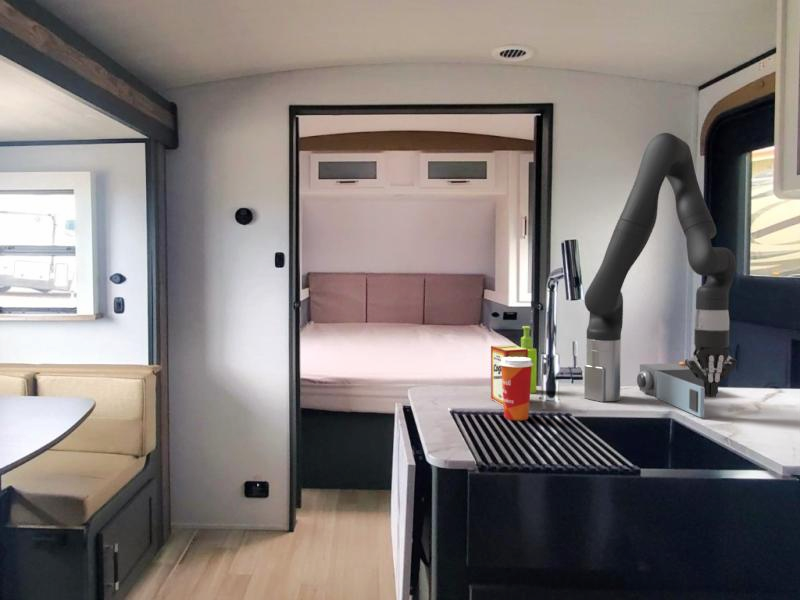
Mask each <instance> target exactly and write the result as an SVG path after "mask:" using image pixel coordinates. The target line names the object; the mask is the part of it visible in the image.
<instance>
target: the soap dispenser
mask: <svg viewBox="0 0 800 600" xmlns="http://www.w3.org/2000/svg"><path fill="white" fill-rule="evenodd" d="M521 328H522V329H523V336H522V337H520V347H521V348H525V349H528V358H530V359H531V362H532V363H533V366H532V369H531V386H530V394H535V393H537V356H538V355H537V350H538V349H537V348H535V347H533V337H531V336H530V330H531V327H530V325H523V326H521Z"/></svg>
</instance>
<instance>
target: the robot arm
mask: <svg viewBox="0 0 800 600" xmlns="http://www.w3.org/2000/svg"><path fill="white" fill-rule="evenodd" d="M665 178H666V179H667V181H668V182H669V183H670V186H671V188H672V190H673V194H674V199H675V210H676V214H677V219H678V221H679V224H680V226H681V227H680V228H681V229H682V231H683V234H684V237H685V238H686V239H685V240H686V253H687V261H688V263H689V266H690V267H691V269H692V270H693V272H694V273H696V274H697V275H698V276H704V277H706V280H705V284H703V285H701V286H699V287H698V288H697V289H696V292H695V314H694V331H693V332H694V338H693V341H694V343H693V345H694V346H695V348H694V351H693V353H692V354H693V355H692V356H691V357H690V358H689V359H685V360H684V362H685V363H686V365H687V366H688V367H689V369H690V370H691V371H692V373H693V374H694V375H695V377H696V378H698V379H701V380H703V381H704V388H705V395H706V396H705V397H708V398H716V397H717V395H718V394H719V383H720V381H723V380H726V379H727V378H728V377H729V376H730V374H731V372H732V371H733V370H734V368H735V367H736V366H737V364H738V362H739V361H738V359H735V358H733V357H732V356H730V351H729V350H728V348H729V347H730V315H729V313H730V312H729V293H730V289H731V286H732V283H733V279H734V276H735V272H736V264H737V261H736V257H735V255H734V253H733V252H732V250H731V249H729V248H727V247H720V246H717V247H716V246H713V244H712V240H711V239H713V238H714V237H715V236H716V235H717V227H716V223H715V222H714V220H713V217H712V215H711V213H710V210H709V208H708V206H707V203H706V201H705V199H704V196H703V194H702V190H701V188H700V184H699V182H698V178H697V175H696V170H695V163H694V160H693V155H692V151H691V148H690V146H689V145H688V143H687V142H686V141H684V139H681V138H680V137H678V136H676V135H675V134H673V133H670V132H662V133H658V134H657V135H655V136H654V137H653V138H652V139H651V140H650V141H649V142H648V143H647V146H646V147H645V150H644V152H643V155H642V158H641V162H640V165H639V168H638V171H637V174H636V178H635V180H634V183H633V186H632V188H631V190H630V193H629V196H628V197H627V199H626V202H625V205H624V207H623V209H622V212H621V214H620V216H619V218H618V220H617V223H616V225H615V227H614V230H613V233H612V234H611V237H610V239H609V242H608V245H607V247H606V250H605V253H604V256H603V260H602V261H601V264H600V266H599V269H598V270H597V272H596V274H595V276H594V278H593V280H592V281H591V283H590V285H589V286H588V288H587V290H586V292H585V294H584V305H585V308H586V310H587V311H588V313H589V317H588V318H589V320H588V321H589V322H588V326H587V329H586V350H585V351H586V355H585V357H586V363H585V365H584V395H583V397H584V399H588V400H592V401H598V402H603V403H605V402H615V401H620V400H621V357H622V356H621V352H622V351H621V348H622V346H621V345H622V342H621V341H622V340H621V339H622V330H623V323H624V322H623V318H624V297H623V292H622V291H621V290H622V288H623V284H624V283H625V280H626V277H627V275H628V273H629V271H630V270H631V268H632V267H633V265H634V264H635V263H636V261H637V260H638V258H639V257H640V255H641V254H642V252H643V251H644V249H645V247H646V245H647V243H648V242H649V240H650V237H651V234H652V233H653V231H654V228H655V225H656V221H657V217H658V209H659V208H658V207H659V197H660V196H659V195H660V191H661V189H662V185H663V183H664V181H665ZM698 365H699V366H700V368H701V369H700V368H699V367H698Z"/></svg>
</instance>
